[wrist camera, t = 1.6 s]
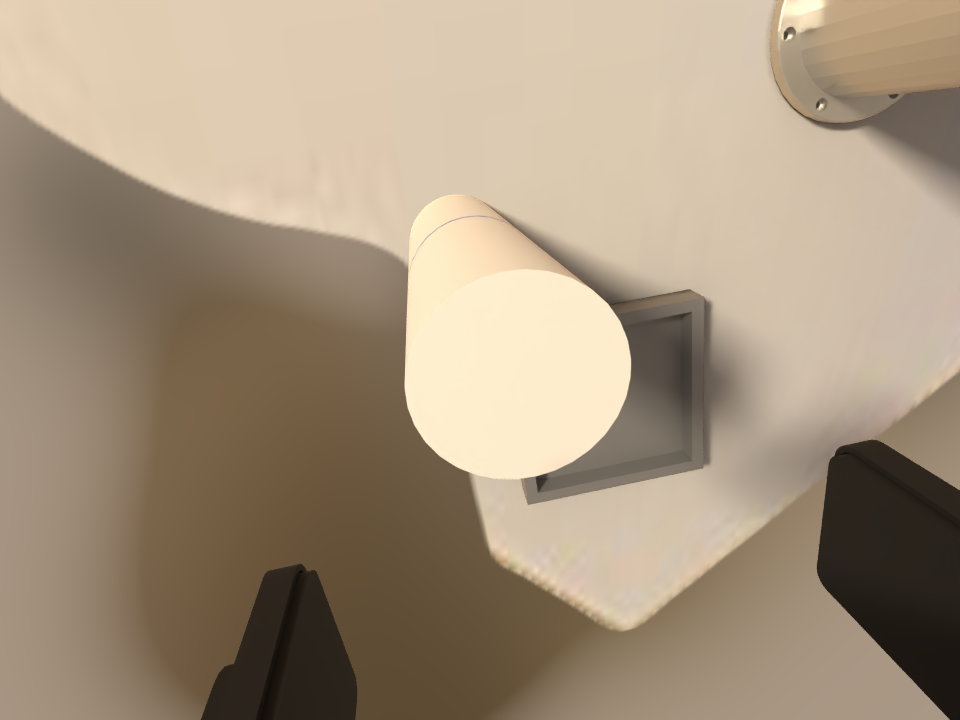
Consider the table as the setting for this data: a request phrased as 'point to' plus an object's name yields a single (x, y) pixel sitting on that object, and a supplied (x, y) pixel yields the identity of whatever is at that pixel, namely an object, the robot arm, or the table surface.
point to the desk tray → (646, 403)
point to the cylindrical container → (505, 347)
